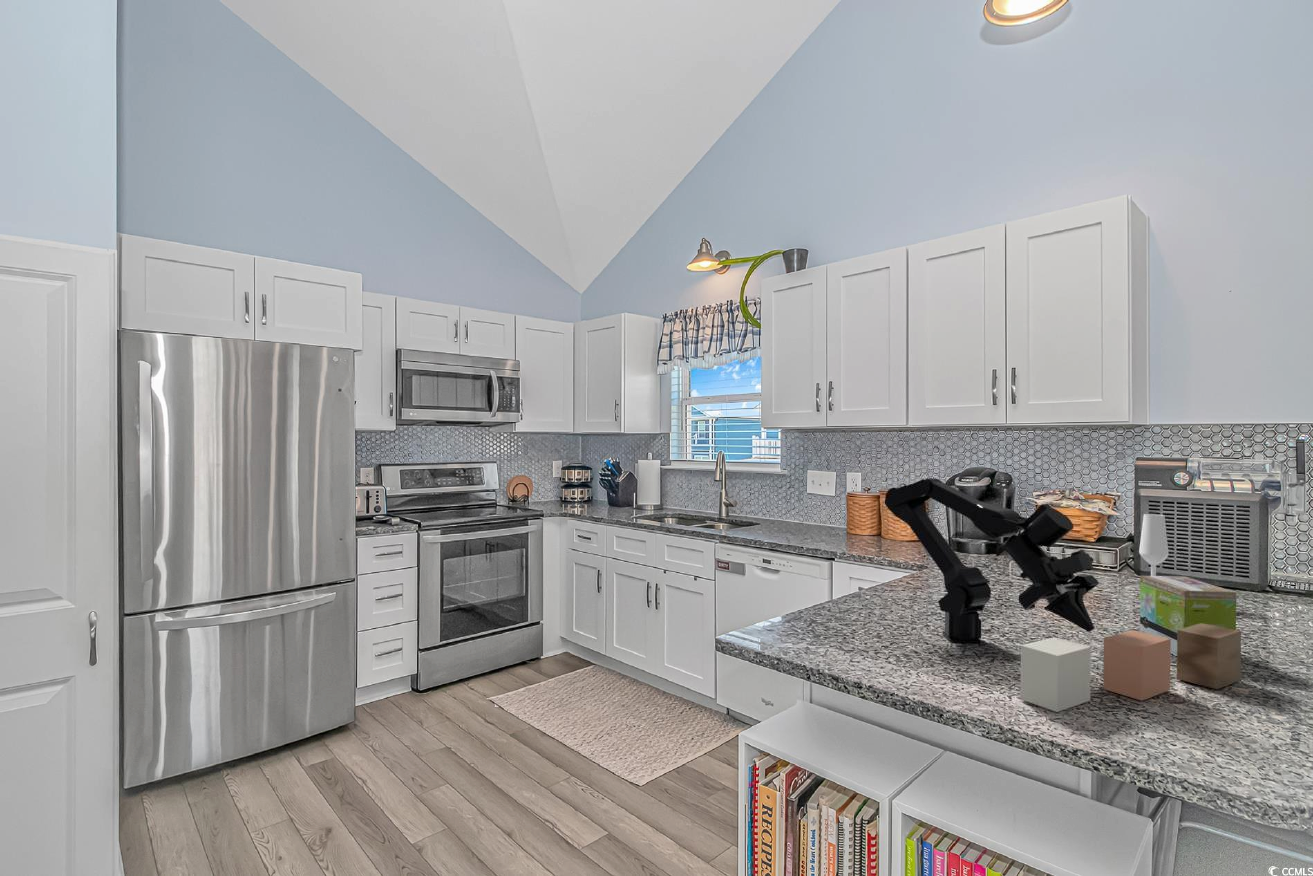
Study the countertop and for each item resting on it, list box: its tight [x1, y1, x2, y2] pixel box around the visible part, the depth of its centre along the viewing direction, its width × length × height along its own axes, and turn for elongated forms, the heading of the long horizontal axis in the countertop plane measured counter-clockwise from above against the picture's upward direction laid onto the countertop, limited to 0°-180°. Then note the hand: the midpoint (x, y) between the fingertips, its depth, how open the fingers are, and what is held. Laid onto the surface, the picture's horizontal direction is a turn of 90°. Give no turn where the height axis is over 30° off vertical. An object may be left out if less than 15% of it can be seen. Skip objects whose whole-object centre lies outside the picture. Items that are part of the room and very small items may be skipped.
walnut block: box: [1176, 623, 1242, 690], centre depth 121 cm, size 6×10×9 cm, turn 120°
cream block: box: [1019, 637, 1092, 713], centre depth 110 cm, size 6×10×9 cm, turn 120°
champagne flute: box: [1138, 513, 1170, 576], centre depth 187 cm, size 7×7×24 cm
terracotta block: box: [1102, 629, 1171, 701], centre depth 115 cm, size 6×10×9 cm, turn 120°
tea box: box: [1139, 575, 1237, 657], centre depth 139 cm, size 15×10×15 cm, turn 174°
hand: (1091, 630), depth 122 cm, fingers closed
